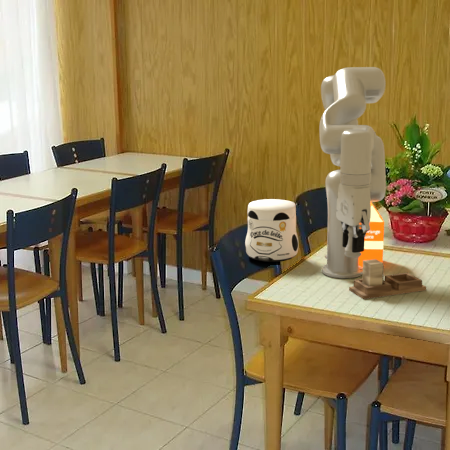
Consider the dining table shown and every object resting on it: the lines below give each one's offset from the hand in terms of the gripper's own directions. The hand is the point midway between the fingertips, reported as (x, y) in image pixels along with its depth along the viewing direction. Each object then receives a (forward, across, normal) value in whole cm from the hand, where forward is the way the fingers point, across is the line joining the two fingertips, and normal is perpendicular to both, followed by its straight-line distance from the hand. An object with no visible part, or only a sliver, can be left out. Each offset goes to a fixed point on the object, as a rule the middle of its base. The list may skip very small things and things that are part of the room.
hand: (353, 248), depth 186 cm
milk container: (+18, -50, -1) cm, 54 cm away
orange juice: (+18, -34, +25) cm, 45 cm away
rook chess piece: (+2, 0, 0) cm, 2 cm away
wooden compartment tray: (+17, -10, +17) cm, 26 cm away
